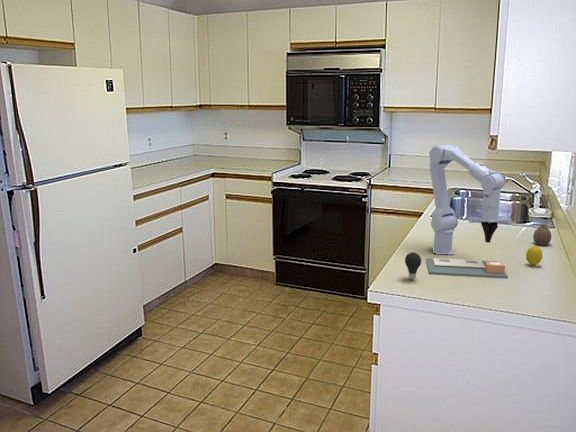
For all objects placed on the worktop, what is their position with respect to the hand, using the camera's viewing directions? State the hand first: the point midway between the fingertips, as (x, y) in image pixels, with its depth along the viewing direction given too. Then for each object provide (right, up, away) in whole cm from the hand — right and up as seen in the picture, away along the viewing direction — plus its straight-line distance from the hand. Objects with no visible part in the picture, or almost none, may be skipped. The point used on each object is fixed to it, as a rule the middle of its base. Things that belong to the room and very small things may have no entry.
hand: (487, 241), depth 189 cm
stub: (0, -11, -5) cm, 12 cm away
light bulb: (-31, -13, -10) cm, 35 cm away
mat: (-8, -10, +1) cm, 13 cm away
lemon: (+18, -9, +3) cm, 21 cm away
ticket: (-10, -9, +3) cm, 14 cm away
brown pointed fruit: (+35, -3, +29) cm, 45 cm away
